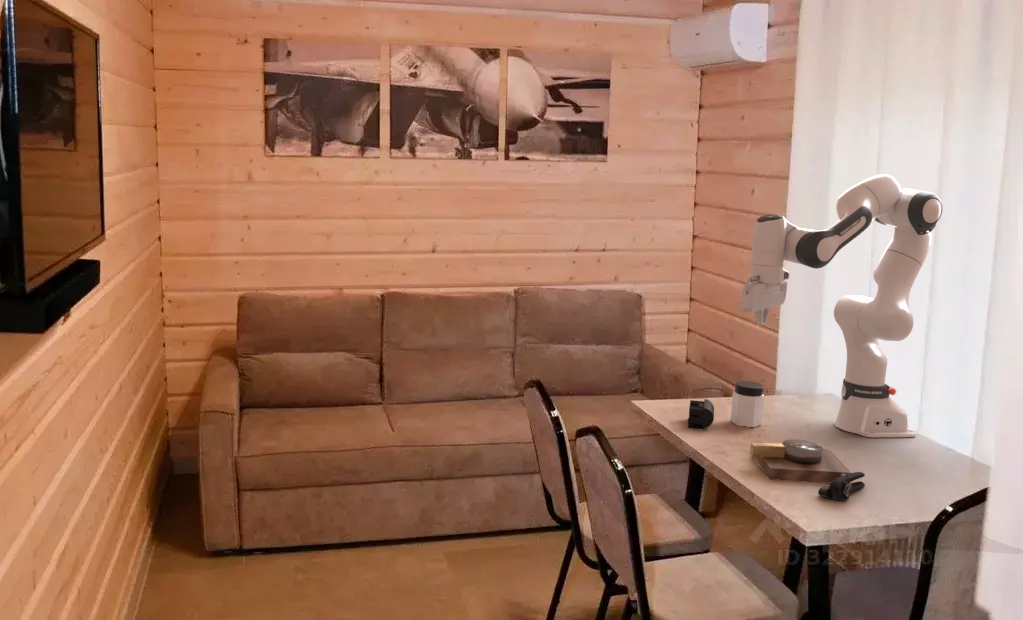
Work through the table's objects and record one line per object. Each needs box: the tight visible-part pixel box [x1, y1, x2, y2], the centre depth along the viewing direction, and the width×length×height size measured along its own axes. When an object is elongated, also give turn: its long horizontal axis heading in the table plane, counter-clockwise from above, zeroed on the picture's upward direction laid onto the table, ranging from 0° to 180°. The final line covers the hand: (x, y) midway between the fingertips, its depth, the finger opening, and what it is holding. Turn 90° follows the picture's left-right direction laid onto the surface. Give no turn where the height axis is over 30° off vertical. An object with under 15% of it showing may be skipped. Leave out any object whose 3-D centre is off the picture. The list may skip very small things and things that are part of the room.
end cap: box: [687, 398, 715, 430], centre depth 276 cm, size 10×7×7 cm
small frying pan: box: [749, 439, 824, 464], centre depth 242 cm, size 18×10×3 cm, turn 92°
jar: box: [729, 380, 765, 428], centre depth 280 cm, size 9×8×12 cm
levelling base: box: [754, 448, 852, 484], centre depth 243 cm, size 20×18×3 cm
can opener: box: [818, 471, 866, 501], centre depth 227 cm, size 18×7×6 cm, turn 134°
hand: (761, 323), depth 261 cm, fingers closed
